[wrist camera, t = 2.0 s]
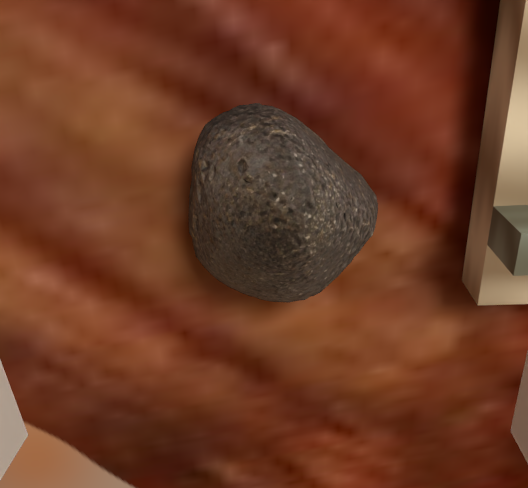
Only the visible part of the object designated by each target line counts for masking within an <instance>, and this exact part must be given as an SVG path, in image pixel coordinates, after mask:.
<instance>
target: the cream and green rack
mask: <svg viewBox="0 0 528 488" xmlns="http://www.w3.org/2000/svg"><path fill="white" fill-rule="evenodd" d="M462 282H463V283H464V285H465V286H466V288H467V290H468V291H469V293H470V294H471V296H472V297H473V299H474V301H475V302H476V304H477V305H508V304H528V0H500V6H499V14H498V21H497V28H496V35H495V43H494V50H493V57H492V65H491V72H490V79H489V86H488V94H487V101H486V108H485V115H484V123H483V130H482V137H481V144H480V152H479V159H478V166H477V174H476V181H475V188H474V195H473V203H472V210H471V217H470V224H469V232H468V239H467V246H466V254H465V261H464V268H463V275H462Z"/></svg>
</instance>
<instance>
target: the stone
mask: <svg viewBox="0 0 528 488" xmlns="http://www.w3.org/2000/svg"><path fill="white" fill-rule="evenodd" d="M377 212H378V203H377V198H376V195H375V194H374V192H373V191H372V189H371V188H370V187H369V185H368V184H367V182H366V181H365V179H364V178H363V176H362V175H361V174H360V173H358V172H357V171H356V170H354V169H353V168H352V167H351V166H349V165H348V164H347V163H346V162H344V161H343V160H342V159H341V158H340V157H339V156H338V155H337V154H335V153H334V152H333V151H332V150H331V149H330V148H329V147H328V146H327V145H326V144H325V143H324V141H323V140H322V139H321V138H320V137H319V136H318V135H317V134H316V133H314V132H313V131H312V130H310V129H309V128H308V127H307V126H305V125H304V124H303V123H302V122H300V121H299V120H298V119H297V118H295V117H293V116H291V115H289V114H287V113H286V112H284V111H282V110H280V109H278V108H275V107H272V106H266V105H261V104H260V103H254V104H249V105H239V106H237V107H235V108H233V109H231V110H230V111H227V112H224V113H222V114H220V115H218V116H217V117H215V118H213V119H212V120H211V121H210V122H208V123H207V124H206V125H205V126H204V128H203V130H202V132H201V134H200V135H199V138H198V141H197V144H196V147H195V151H194V156H193V161H192V182H191V189H190V196H189V233H190V235H191V237H192V238H193V246H194V250H195V254H196V257H197V258H198V260H199V261H200V262H201V263H202V265H203V266H204V267H205V268H206V269H207V270H208V271H209V272H210V273H211V274H212V275H213V276H214V277H215V278H216V279H217V280H219V281H221V282H222V283H224V284H225V285H227V286H229V287H230V288H233V289H235V290H237V291H239V292H241V293H243V294H246V295H249V296H253V297H256V298H258V299H262V300H267V301H273V302H292V301H298V300H305V299H307V298H308V297H310V296H314V295H316V294H318V293H320V292H321V291H322V290H323V289H324V288H325V287H326V286H328V285H329V284H330V283H331V282H332V281H333V280H334V279H335V278H337V277H338V275H339V274H340V273H341V272H342V271H343V270H344V269H345V268H346V267H347V266H348V265H349V263H350V262H351V261H352V260H353V258H354V256H356V255H357V254H358V253H359V251H360V250H361V248H362V247H363V246H364V244H365V243H366V242H367V241H368V239H369V238H370V237H371V236H372V235H373V232H374V229H375V224H376V219H377Z"/></svg>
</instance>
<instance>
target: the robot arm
mask: <svg viewBox="0 0 528 488" xmlns="http://www.w3.org/2000/svg"><path fill="white" fill-rule="evenodd" d="M511 433H512V435H513V436H514V438H515V440H516V442H517V444H518V446H519V448H520V450H521V452H522V453H523V455H524V457H525V459H526V461H527V463H528V352H527V356H526V361H525V366H524V370H523V375H522V380H521V384H520V389H519V394H518V398H517V403H516V408H515V412H514V417H513V422H512V426H511ZM27 436H28V433H27V430H26V428H25V425H24V422H23V420H22V417H21V414H20V412H19V409H18V406H17V403H16V401H15V398H14V395H13V393H12V390H11V387H10V385H9V382H8V379H7V376H6V374H5V371H4V368H3V366H2V363H1V360H0V480H1V478H2V477H3V475H4V474H5V472H6V470H7V469H8V467H9V465H10V464H11V462H12V461H13V459H14V457H15V456H16V454H17V452H18V451H19V449H20V448H21V446H22V444H23V443H24V441H25V439H26V438H27Z"/></svg>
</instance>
